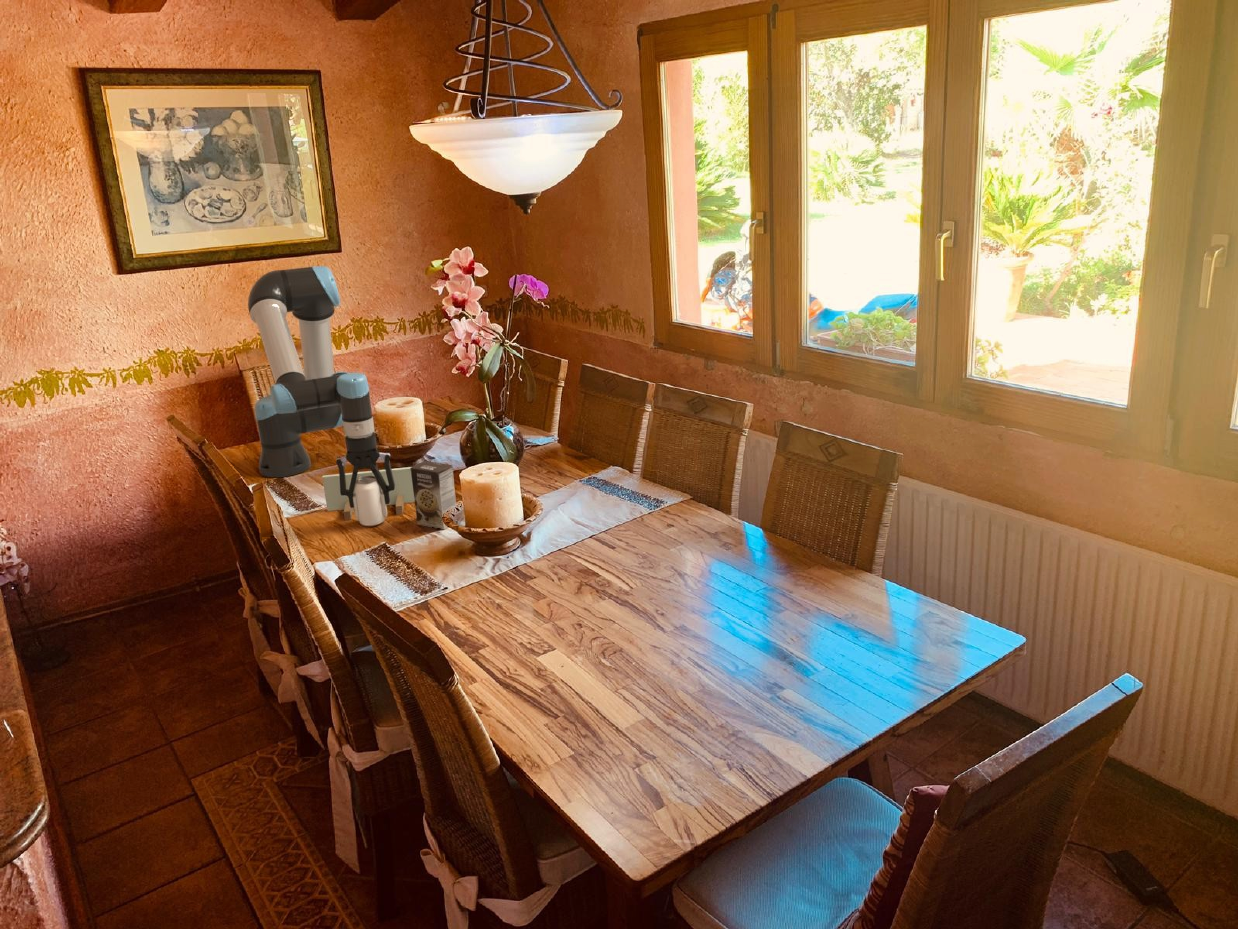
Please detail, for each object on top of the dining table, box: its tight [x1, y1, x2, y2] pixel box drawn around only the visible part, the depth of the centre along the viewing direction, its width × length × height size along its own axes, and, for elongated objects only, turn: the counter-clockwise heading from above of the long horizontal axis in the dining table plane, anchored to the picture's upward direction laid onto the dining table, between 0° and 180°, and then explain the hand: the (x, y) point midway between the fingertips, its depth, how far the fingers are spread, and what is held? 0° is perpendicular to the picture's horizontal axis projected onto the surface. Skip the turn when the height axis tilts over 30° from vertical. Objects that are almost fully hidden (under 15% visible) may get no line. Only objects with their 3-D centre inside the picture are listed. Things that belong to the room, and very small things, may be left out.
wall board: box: [321, 466, 415, 521], centre depth 250 cm, size 9×26×10 cm, turn 100°
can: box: [355, 476, 386, 527], centre depth 242 cm, size 6×6×12 cm
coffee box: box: [410, 460, 457, 530], centre depth 239 cm, size 9×6×16 cm
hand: (371, 516), depth 244 cm, fingers closed on can, 6 cm apart
